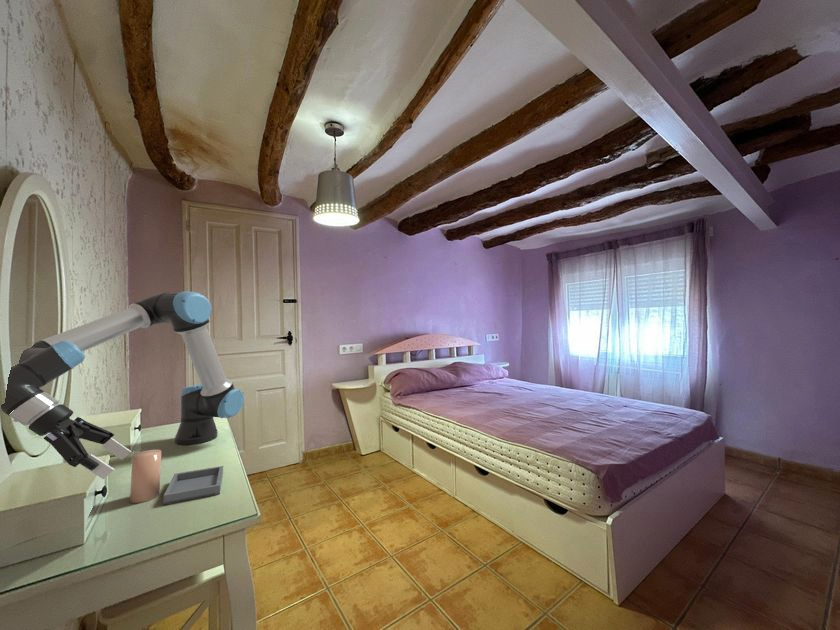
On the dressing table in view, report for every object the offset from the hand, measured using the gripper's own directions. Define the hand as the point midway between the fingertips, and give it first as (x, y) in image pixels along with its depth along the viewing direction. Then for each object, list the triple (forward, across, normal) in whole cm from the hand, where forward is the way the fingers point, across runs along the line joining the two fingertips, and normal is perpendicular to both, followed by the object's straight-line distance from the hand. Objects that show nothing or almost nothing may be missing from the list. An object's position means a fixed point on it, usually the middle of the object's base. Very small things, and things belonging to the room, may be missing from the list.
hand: (118, 464), depth 90 cm
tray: (+20, -1, +5) cm, 21 cm away
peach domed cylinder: (+11, -1, -3) cm, 12 cm away
